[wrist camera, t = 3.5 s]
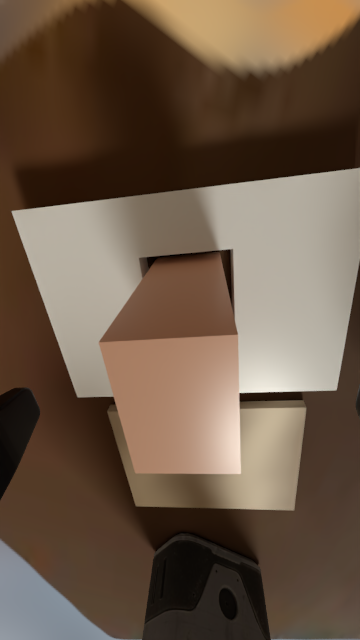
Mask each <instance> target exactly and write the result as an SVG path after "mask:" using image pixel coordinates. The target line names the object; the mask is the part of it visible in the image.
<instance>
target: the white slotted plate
mask: <svg viewBox="0 0 360 640" xmlns="http://www.w3.org/2000/svg"><path fill="white" fill-rule="evenodd" d="M12 214H13V217H14V220H15V223H16V225H17V228H18V231H19V234H20V237H21V240H22V242H23V245H24V248H25V251H26V254H27V256H28V259H29V262H30V265H31V268H32V271H33V273H34V276H35V279H36V282H37V285H38V287H39V290H40V293H41V296H42V299H43V302H44V304H45V307H46V310H47V313H48V316H49V318H50V321H51V324H52V327H53V330H54V332H55V335H56V338H57V341H58V344H59V347H60V349H61V352H62V355H63V358H64V361H65V363H66V366H67V369H68V372H69V375H70V378H71V380H72V383H73V386H74V389H75V392H76V394H77V397H112V396H113V392H112V389H111V385H110V381H109V378H108V374H107V371H106V367H105V364H104V360H103V356H102V353H101V349H100V346H99V341H100V340H101V338H102V337H103V335H104V334H105V332H106V331H107V329H108V328H109V327H110V325H111V324H112V322H113V321H114V319H115V318H116V316H117V315H118V314H119V312H120V311H121V309H122V308H123V306H124V305H125V304H126V302H127V301H128V299H129V298H130V296H131V295H132V293H133V292H134V291H135V289H136V288H137V286H138V285H139V283H140V282H141V280H142V279H143V278H144V276H145V275H146V273H147V272H148V270H149V268H148V262H147V257H153V256H163V255H174V254H185V253H195V252H206V251H217V250H227V249H230V255H231V288H232V310H233V314H234V319H235V323H236V328H237V332H238V357H239V393H256V392H292V391H328V390H337V385H338V379H339V374H340V368H341V362H342V357H343V351H344V346H345V340H346V334H347V329H348V323H349V317H350V312H351V306H352V301H353V295H354V289H355V284H356V278H357V272H358V267H359V261H360V168H356V169H348V170H340V171H332V172H324V173H316V174H308V175H300V176H292V177H284V178H276V179H267V180H259V181H251V182H243V183H235V184H227V185H219V186H211V187H203V188H195V189H187V190H179V191H171V192H163V193H154V194H146V195H138V196H130V197H122V198H114V199H106V200H98V201H90V202H82V203H74V204H66V205H58V206H50V207H41V208H33V209H25V210H17V211H12Z"/></svg>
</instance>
